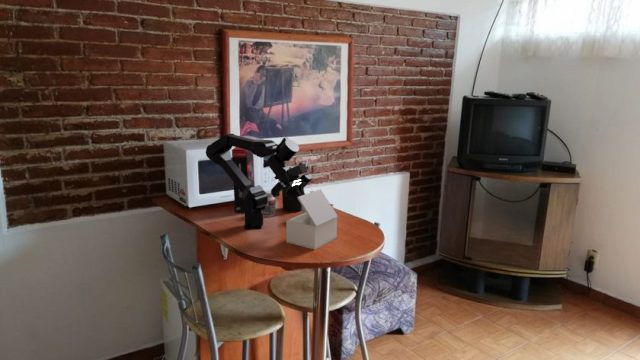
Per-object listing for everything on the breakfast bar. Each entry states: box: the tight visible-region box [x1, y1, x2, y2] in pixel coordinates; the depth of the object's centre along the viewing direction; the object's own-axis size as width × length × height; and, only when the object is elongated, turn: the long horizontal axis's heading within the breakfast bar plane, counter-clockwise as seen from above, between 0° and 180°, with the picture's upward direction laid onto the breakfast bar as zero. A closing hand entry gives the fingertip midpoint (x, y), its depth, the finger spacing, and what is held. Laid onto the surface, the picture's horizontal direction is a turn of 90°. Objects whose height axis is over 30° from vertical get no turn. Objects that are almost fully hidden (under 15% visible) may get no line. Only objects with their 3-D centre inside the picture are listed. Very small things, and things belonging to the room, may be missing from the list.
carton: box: [285, 213, 338, 251], centre depth 169 cm, size 12×14×8 cm
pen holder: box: [281, 190, 302, 213], centre depth 207 cm, size 9×9×10 cm
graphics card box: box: [231, 147, 256, 214], centre depth 207 cm, size 17×7×27 cm, turn 179°
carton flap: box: [298, 188, 338, 227], centre depth 166 cm, size 12×14×1 cm
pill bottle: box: [262, 190, 277, 218], centre depth 198 cm, size 6×6×10 cm
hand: (306, 203), depth 168 cm, fingers closed
